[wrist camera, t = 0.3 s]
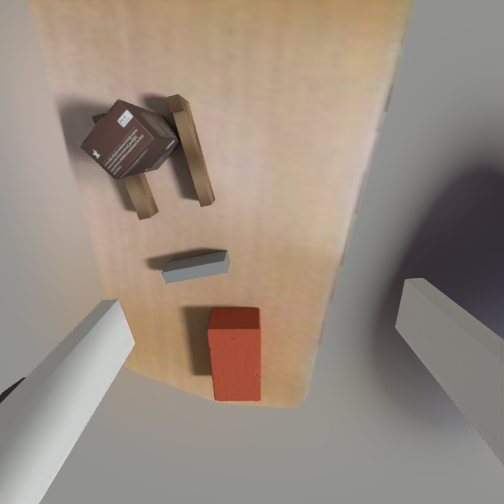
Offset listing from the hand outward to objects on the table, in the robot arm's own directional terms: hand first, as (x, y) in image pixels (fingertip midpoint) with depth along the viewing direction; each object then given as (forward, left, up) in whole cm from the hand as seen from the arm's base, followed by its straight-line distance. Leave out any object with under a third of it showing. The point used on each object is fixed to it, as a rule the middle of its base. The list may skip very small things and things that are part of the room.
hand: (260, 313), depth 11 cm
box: (-10, -11, -27) cm, 31 cm away
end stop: (+8, -11, -27) cm, 30 cm away
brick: (+28, -9, -27) cm, 40 cm away
